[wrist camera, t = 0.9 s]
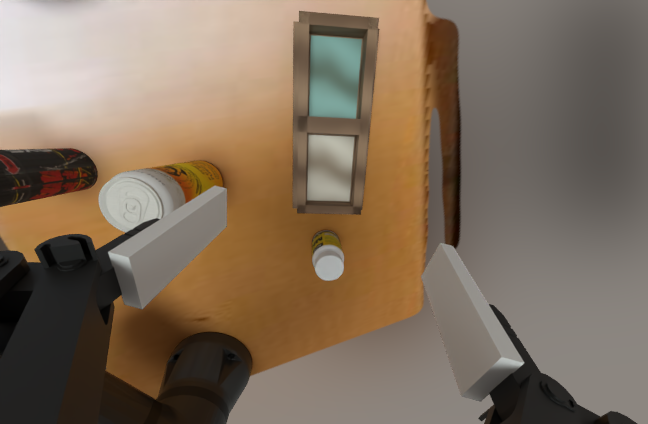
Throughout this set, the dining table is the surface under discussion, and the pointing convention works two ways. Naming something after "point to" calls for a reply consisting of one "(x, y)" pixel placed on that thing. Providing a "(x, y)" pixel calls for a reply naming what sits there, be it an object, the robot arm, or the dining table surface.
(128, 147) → the dining table surface
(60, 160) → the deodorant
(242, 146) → the dining table surface
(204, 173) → the yellow canister
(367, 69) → the divided tray
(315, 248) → the supplement bottle
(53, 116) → the dining table surface
